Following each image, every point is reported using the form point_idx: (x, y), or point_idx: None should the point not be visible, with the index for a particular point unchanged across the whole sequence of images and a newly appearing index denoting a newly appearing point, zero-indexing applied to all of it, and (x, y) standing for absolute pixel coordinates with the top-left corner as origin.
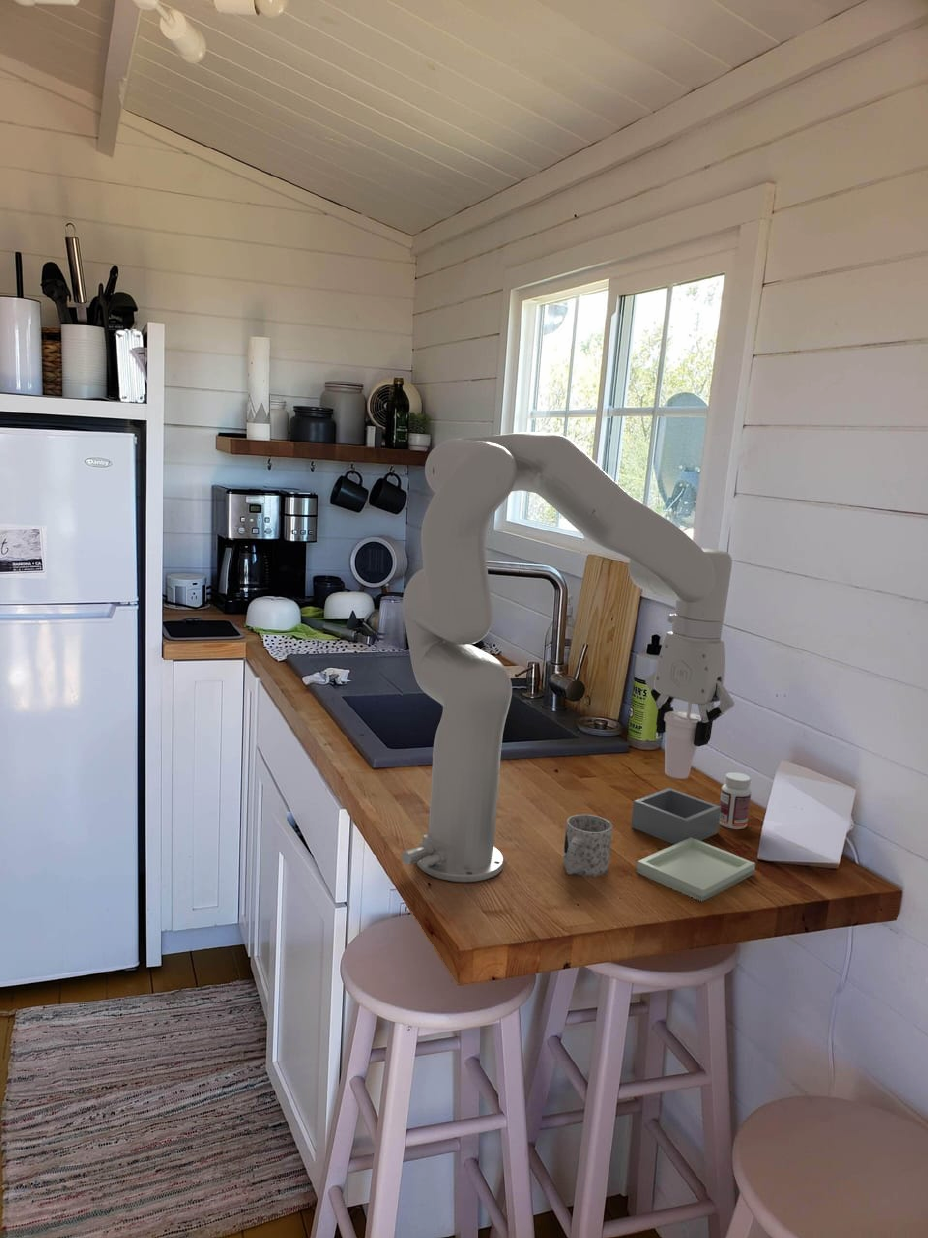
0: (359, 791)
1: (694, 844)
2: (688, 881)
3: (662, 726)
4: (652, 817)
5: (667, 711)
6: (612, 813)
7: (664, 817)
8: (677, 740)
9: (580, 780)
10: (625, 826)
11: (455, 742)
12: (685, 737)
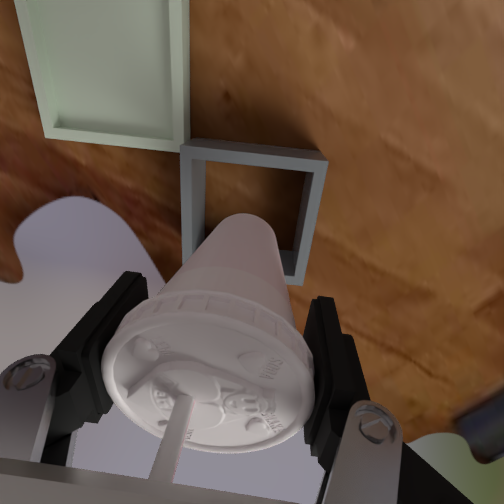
0: None
1: (170, 139)
2: None
3: (313, 325)
4: (271, 151)
5: (314, 407)
6: (379, 184)
7: (240, 150)
8: (207, 262)
9: (496, 279)
10: (330, 144)
11: None
12: (172, 281)
